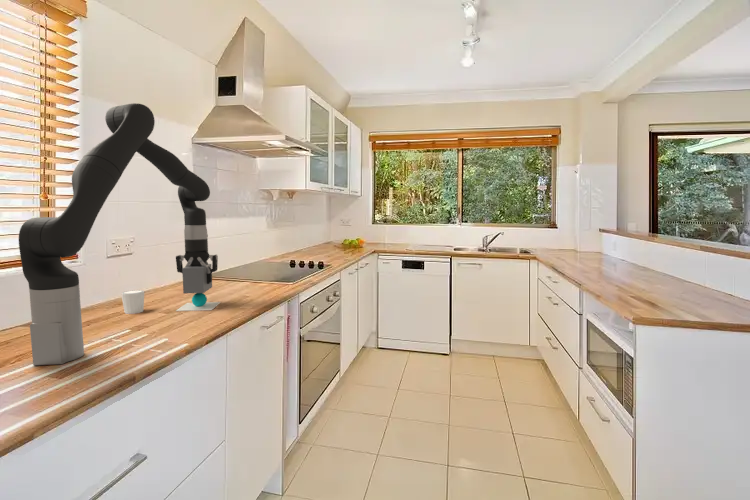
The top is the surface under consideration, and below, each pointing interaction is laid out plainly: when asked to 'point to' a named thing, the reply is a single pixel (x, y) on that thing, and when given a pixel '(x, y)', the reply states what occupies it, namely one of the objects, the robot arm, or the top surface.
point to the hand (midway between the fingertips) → (198, 283)
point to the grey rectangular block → (195, 279)
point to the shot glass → (133, 301)
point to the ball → (199, 299)
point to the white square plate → (198, 308)
